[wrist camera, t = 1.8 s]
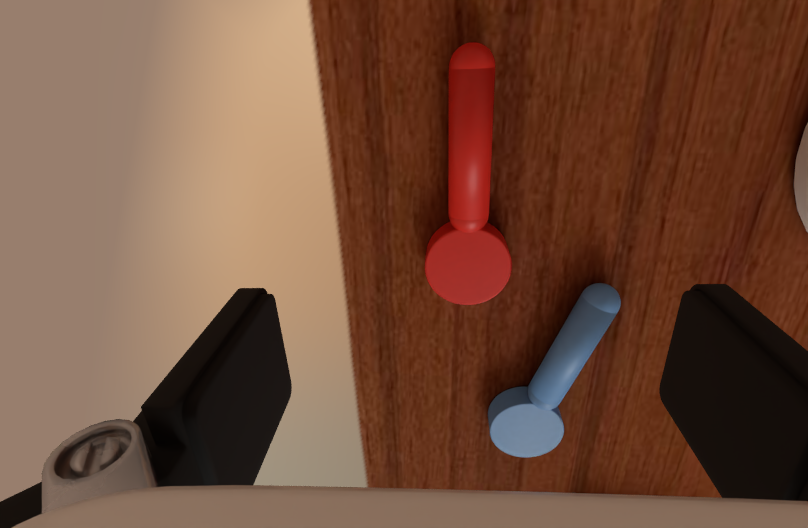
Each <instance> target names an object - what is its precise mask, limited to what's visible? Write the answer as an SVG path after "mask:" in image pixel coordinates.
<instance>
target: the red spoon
mask: <svg viewBox="0 0 808 528" xmlns="http://www.w3.org/2000/svg"><path fill="white" fill-rule="evenodd" d="M494 85H495V60H494V57H493V54H492V52H491V51H490V50H489V49H488V48H487V47H486V46H485V45H483V44H481V43H477V42H470V43H466V44H463V45H462V46H460V47H459V48H458V49H457V50H456V51H455V52H454V53H453V55H452V57H451V59H450V63H449V168H448V215H449V220H450V222H448V223H446V224H444V225H443V226H441V227H440V228H439V229H438V230H437V231H436V232H435V233H434V234H433V236H432V237H431V239H430V241H429V243H428V245H427V249H426V257H425V274H426V278H427V280H428V282H429V284H430V286H431V287H432V289H433V290H434V291H435V292H436V293H437V294H438V295H439V296H441V297H442V298H444V299H445V300H447V301H450V302H452V303H456V304H461V305H474V304H479V303H483V302H485V301H488V300H490V299H491V298H493V297H494V296H496V295H497V294H498V293H499V292H500V291H501V290H502V289H503V288H504V287H505V285H506V284H507V282H508V280H509V278H510V274H511V269H512V261H511V256H510V253H509V250H508V246H507V243H506V241H505V239H504V237H503V235H502V234H501V233H500V231H499V230H498V229H497V228H495V227H494V226H493V225H491V224H490V223H488V222H487V221H488V217H489V202H490V179H491V155H492V132H493V109H494Z"/></svg>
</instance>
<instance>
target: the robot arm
mask: <svg viewBox="0 0 808 528" xmlns="http://www.w3.org/2000/svg"><path fill="white" fill-rule="evenodd" d="M794 191H795V198H796V205H797V210H798V213H799V215H800V217H801V220H802V222H803V224H804V227H805V229H806V231H807V232H808V123H807V125H806V127H805V130H804V133H803V136H802V140H801V143H800V146H799V150H798V153H797V156H796V165H795V176H794ZM290 396H291V379H290V374H289V368H288V363H287V358H286V353H285V348H284V343H283V338H282V333H281V328H280V322H279V318H278V312H277V308H276V302H275V298H274V296H273V295H272V294H267V291H266V290H265V289H264V288H240V289H238V290H237V291H236V292H235V294H234V295H233V296H232V297H231V299H230V300H229V301H228V302H227V303H226V305H225V306H224V307H223V308H222V309H221V311H220V312H219V313H218V314H217V315H216V317H215V318H214V319H213V320H212V321H211V323H210V324H209V325H208V326H207V327H206V329H205V330H204V331H203V332H202V334H201V335H200V336H199V337H198V339H197V340H196V341H195V342H194V343H193V345H192V346H191V347H190V348H189V349H188V350H187V352H186V353H185V354H184V355H183V357H182V358H181V359H180V360H179V361H178V363H177V364H176V365H175V366H174V367H173V369H172V370H171V371H170V372H169V373H168V375H167V376H166V377H165V378H164V380H163V381H162V382H161V383H160V384H159V386H158V387H157V388H156V389H155V390H154V392H153V393H152V394H151V395H150V397H149V398H148V399H147V400H146V401H145V403H144V404H143V405H142V406H141V408H142V411H141V412H140V414H139V415H138V416H137V417H136V419H135V420H134V421H133V422H132V421H130V420H121V419H116V420H110V421H104V422H101V423H98V424H94V425H91V426H89V427H87V428H85V429H83V430H81V431H79V432H77V433H75V434H74V435H72V436H71V437H70V438H68V439H67V440H65V441H63V442H62V443H61V444H60V445H59V446H58V447H57V448H56V449H55V450H54V451H53V452H52V453H51V454H50V456H49V457H48V459H47V460H46V462H45V464H44V467H43V471H42V482H40V483H38V484H36V485H34V486H32V487H30V488H28V489H26V490H24V491H22V492H20V493H18V494H16V495H14V496H12V497H10V498H7V499H5V500H3V501H1V502H0V528H808V351H807V350H806V349H804V348H803V347H802V346H801V345H799V344H798V343H797V342H796V341H795V340H793V339H792V338H791V337H790V336H789V335H787V334H786V333H785V332H784V331H783V330H781V329H780V328H779V327H778V326H776V325H775V324H774V323H773V322H772V321H770V320H769V319H768V318H767V317H766V316H764V315H763V314H762V313H761V312H760V311H758V310H757V309H756V308H755V307H753V306H752V305H751V304H750V303H749V302H747V301H746V300H745V299H744V298H743V297H741V296H740V295H739V294H738V293H737V292H735V291H734V290H733V289H732V288H730V287H729V286H728V285H726V284H696V285H694V286H693V287H692V288H691V289H690V291H686V292H684V294H683V295H682V298H681V302H680V306H679V310H678V314H677V318H676V322H675V327H674V331H673V335H672V339H671V343H670V347H669V351H668V355H667V359H666V363H665V367H664V371H663V375H662V379H661V383H660V397H661V400H662V402H663V404H664V406H665V407H666V409H667V411H668V412H669V414H670V415H671V417H672V418H673V420H674V422H675V423H676V425H677V426H678V428H679V430H680V431H681V433H682V434H683V436H684V438H685V439H686V441H687V442H688V444H689V446H690V447H691V449H692V450H693V452H694V453H695V455H696V457H697V458H698V460H699V461H700V463H701V465H702V466H703V468H704V469H705V471H706V473H707V474H708V476H709V477H710V479H711V481H712V482H713V484H714V485H715V487H716V488H717V490H718V492H719V493H720V495H721V496H722V498H711V497H681V496H651V495H621V494H590V493H555V492H520V491H484V490H447V489H405V488H358V487H313V486H312V487H311V486H260V485H253V484H254V482H255V479H256V477H257V474H258V472H259V470H260V468H261V465H262V463H263V460H264V458H265V456H266V453H267V451H268V449H269V446H270V444H271V441H272V439H273V437H274V435H275V432H276V430H277V427H278V425H279V422H280V420H281V418H282V416H283V413H284V411H285V409H286V406H287V404H288V401H289V399H290Z"/></svg>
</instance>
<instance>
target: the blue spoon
mask: <svg viewBox="0 0 808 528" xmlns="http://www.w3.org/2000/svg"><path fill="white" fill-rule="evenodd" d="M620 305H621V300H620V296H619V294H618V292H617V291H616V290H615V289H614V288H613V287H611V286H610V285H607V284H604V283H595V284H592V285H590V286H588V287H587V288H585V289H584V291H583V292H582V294H581V295H580V297H579V299H578V300H577V302H576V304H575V306H574V307H573V309H572V311H571V313H570V314H569V316H568V318H567V320H566V321H565V323H564V325H563V326H562V328H561V330H560V332H559V333H558V335H557V337H556V339H555V340H554V342H553V344H552V345H551V347H550V349H549V351H548V352H547V354H546V356H545V358H544V359H543V361H542V363H541V364H540V366H539V368H538V370H537V371H536V373H535V375H534V377H533V378H532V380H531V382H530V384H529V386H528V387H525V386H523V387H514V388H511V389H508V390H505V391H504V392H502V393H500V394H499V395H497V396H496V397H495V398H494V399H493V401H492V402H491V404H490V406H489V409H488V420H489V429H490V436H491V439H492V441H493V442H494V444H495V445H496V446H497V447H498V448H499V449H500V450H502V451H503V452H505V453H507V454H510V455H513V456H517V457H535V456H540V455H543V454H545V453H547V452H549V451H551V450H552V449H554V448H555V447H556V446H557V445H558V444H559V443H560V441H561V439H562V437H563V434H564V425H563V421H562V418H561V415H560V411H559V408H558V405H559V404H560V402H561V401H562V399H563V398H564V396H565V395H566V393H567V391H568V390H569V388H570V387H571V385H572V384H573V382H574V380H575V379H576V377H577V376H578V374H579V372H580V371H581V369H582V368H583V366H584V365H585V363H586V361H587V360H588V358H589V357H590V355H591V354H592V352H593V350H594V349H595V347H596V346H597V344H598V343H599V341H600V339H601V338H602V336H603V335H604V333H605V332H606V330H607V328H608V327H609V325H610V324H611V322H612V321H613V319H614V317H615V316H616V314H617V313H618V311H619V309H620Z"/></svg>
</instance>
